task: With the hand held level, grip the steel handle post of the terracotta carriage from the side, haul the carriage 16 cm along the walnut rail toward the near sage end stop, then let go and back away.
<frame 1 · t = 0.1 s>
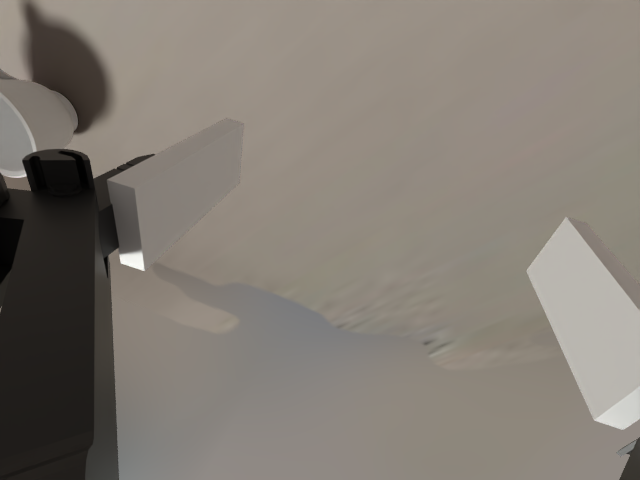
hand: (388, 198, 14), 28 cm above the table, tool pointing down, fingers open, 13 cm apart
teacup: (55, 101, 47), on the table
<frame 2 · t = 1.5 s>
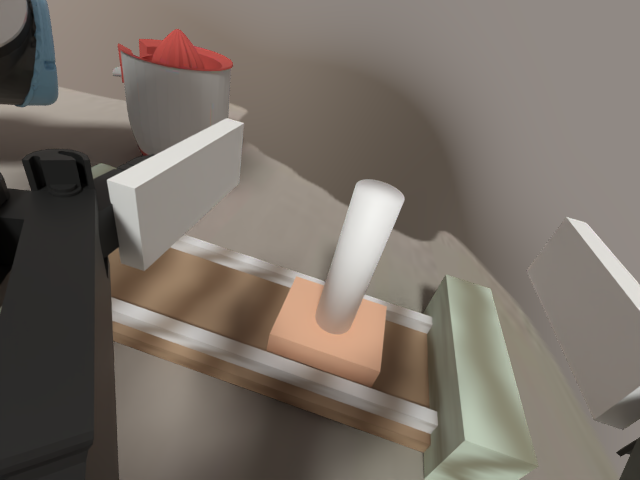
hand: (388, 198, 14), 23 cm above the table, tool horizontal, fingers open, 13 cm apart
citrus juicer: (176, 159, 60), on the table
carriage: (349, 275, 29), point 10 cm above the table, slide at 0.0 cm
rail: (250, 320, 35), on the table
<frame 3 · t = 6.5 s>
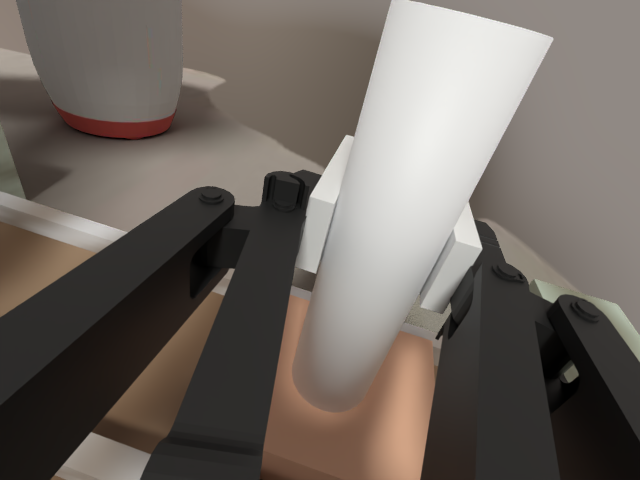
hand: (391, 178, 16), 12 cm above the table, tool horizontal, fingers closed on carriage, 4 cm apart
citrus juicer: (114, 123, 43), on the table
carriage: (365, 283, 12), point 10 cm above the table, slide at 0.0 cm, touching gripper
rail: (174, 370, 19), on the table
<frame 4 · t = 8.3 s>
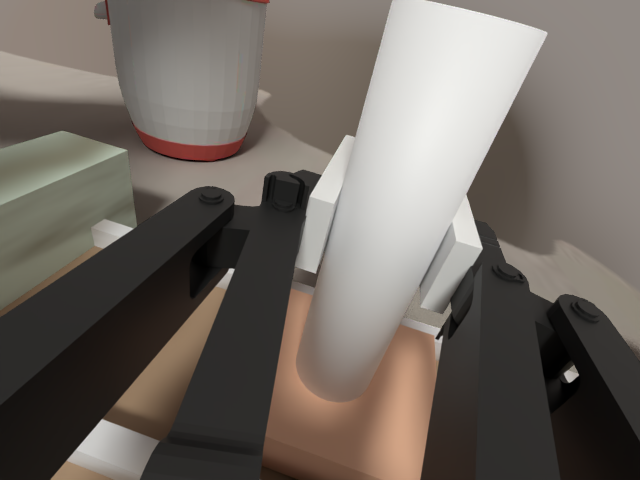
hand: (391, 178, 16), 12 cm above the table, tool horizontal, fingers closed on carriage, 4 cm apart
citrus juicer: (185, 143, 43), on the table
carriage: (368, 274, 13), point 10 cm above the table, slide at 9.2 cm, touching gripper
rail: (336, 419, 18), on the table
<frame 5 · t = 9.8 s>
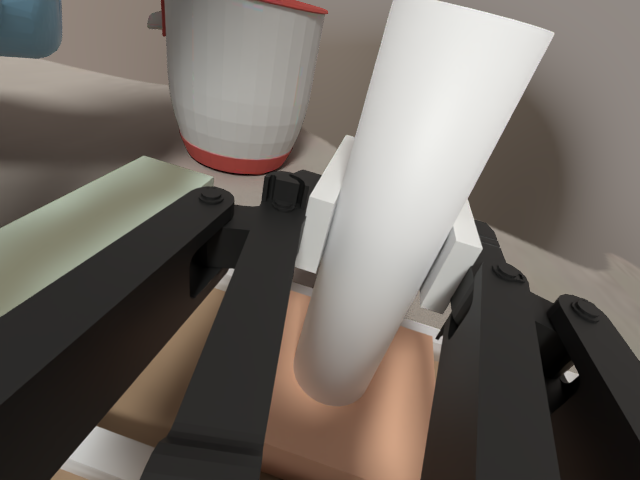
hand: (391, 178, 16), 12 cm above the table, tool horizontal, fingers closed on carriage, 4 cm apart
citrus juicer: (230, 155, 42), on the table
carriage: (367, 277, 12), point 10 cm above the table, slide at 15.9 cm, touching gripper
rail: (457, 464, 18), on the table
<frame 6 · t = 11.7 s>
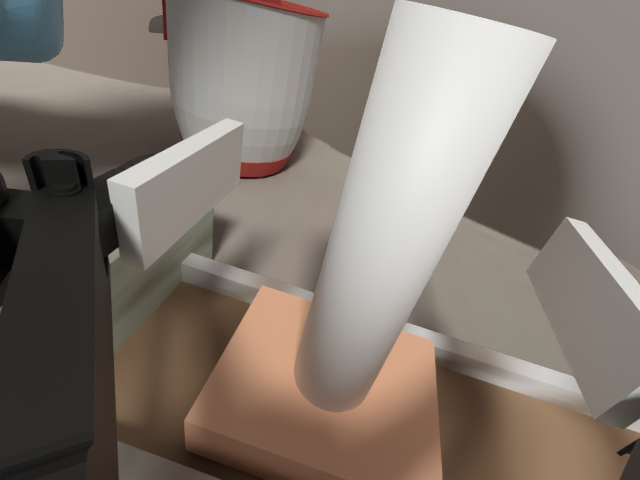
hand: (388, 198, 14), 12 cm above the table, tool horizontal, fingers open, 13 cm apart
citrus juicer: (231, 158, 42), on the table
carriage: (367, 283, 12), point 10 cm above the table, slide at 15.9 cm
rail: (459, 471, 18), on the table
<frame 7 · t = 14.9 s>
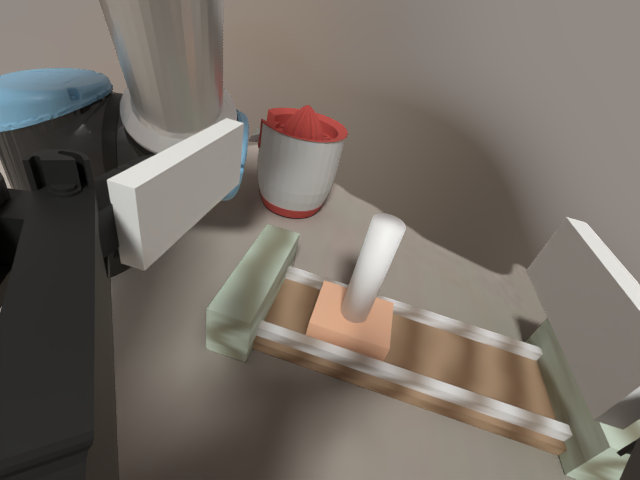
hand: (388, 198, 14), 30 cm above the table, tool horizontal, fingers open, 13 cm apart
citrus juicer: (286, 203, 70), on the table
carriage: (366, 279, 40), point 10 cm above the table, slide at 15.9 cm
rail: (402, 352, 45), on the table
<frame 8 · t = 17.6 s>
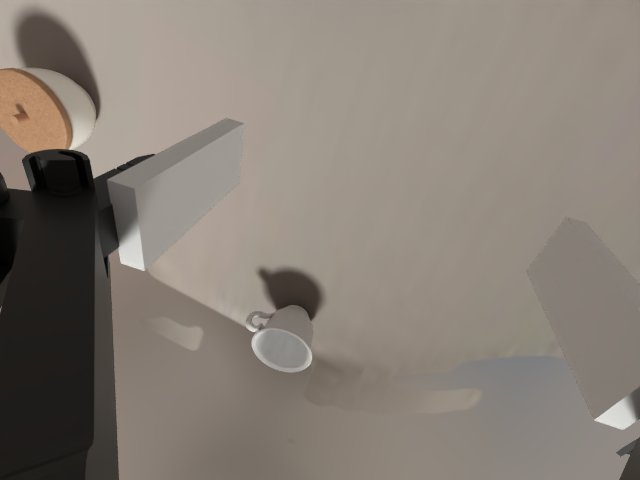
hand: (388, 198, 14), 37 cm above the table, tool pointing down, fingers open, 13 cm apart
lidded bowl: (78, 104, 57), on the table
teacup: (291, 310, 72), on the table
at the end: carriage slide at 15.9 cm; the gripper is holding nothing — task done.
